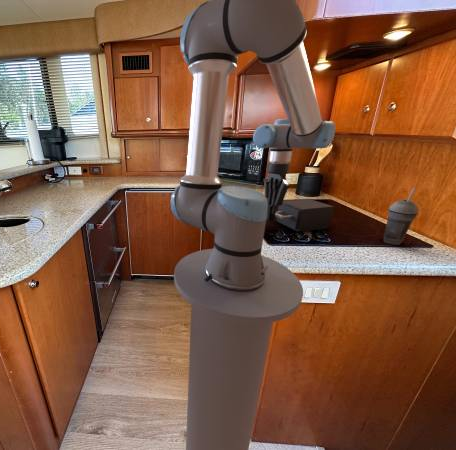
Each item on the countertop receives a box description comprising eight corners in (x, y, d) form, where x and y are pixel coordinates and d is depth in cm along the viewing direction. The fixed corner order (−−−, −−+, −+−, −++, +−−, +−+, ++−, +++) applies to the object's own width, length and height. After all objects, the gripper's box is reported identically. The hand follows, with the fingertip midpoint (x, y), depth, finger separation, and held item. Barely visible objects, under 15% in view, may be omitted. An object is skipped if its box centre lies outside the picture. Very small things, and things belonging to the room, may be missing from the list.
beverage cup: (396, 238, 88) (416, 185, 81) (411, 247, 81) (434, 189, 74) (373, 237, 89) (390, 184, 82) (386, 245, 83) (406, 189, 76)
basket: (282, 230, 95) (285, 212, 93) (264, 221, 106) (267, 204, 103) (323, 226, 99) (327, 208, 96) (302, 217, 109) (305, 201, 107)
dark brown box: (298, 231, 96) (302, 209, 93) (277, 221, 108) (280, 201, 105) (328, 228, 99) (334, 206, 96) (305, 218, 111) (309, 198, 107)
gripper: (300, 164, 86) (288, 225, 94) (276, 160, 98) (268, 215, 106) (282, 164, 84) (272, 226, 93) (260, 161, 96) (253, 216, 105)
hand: (270, 220), depth 99 cm, fingers closed
